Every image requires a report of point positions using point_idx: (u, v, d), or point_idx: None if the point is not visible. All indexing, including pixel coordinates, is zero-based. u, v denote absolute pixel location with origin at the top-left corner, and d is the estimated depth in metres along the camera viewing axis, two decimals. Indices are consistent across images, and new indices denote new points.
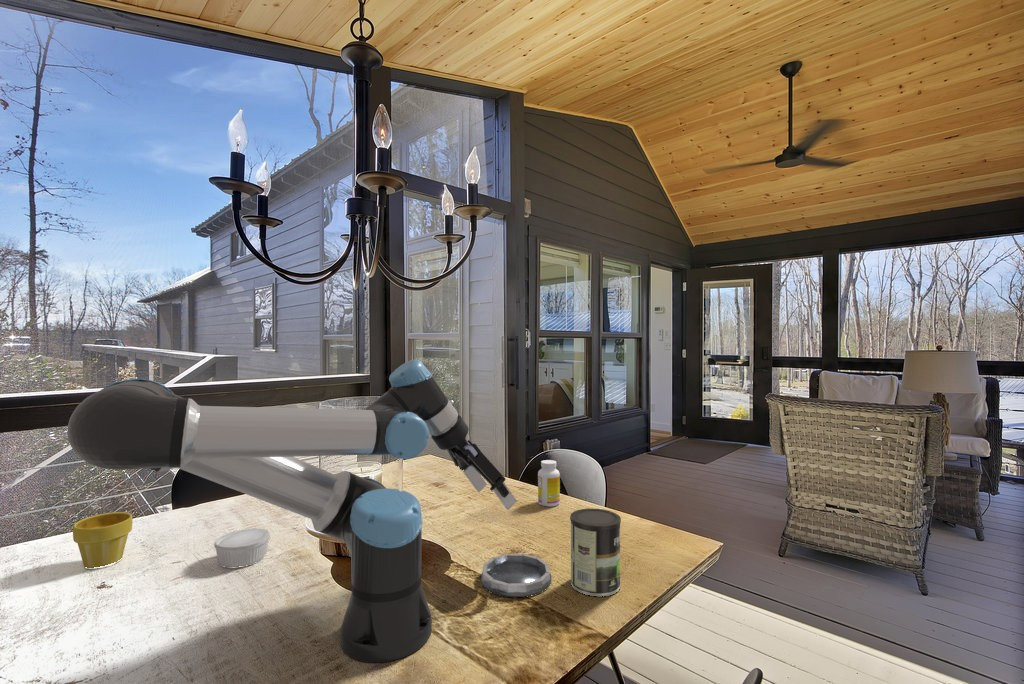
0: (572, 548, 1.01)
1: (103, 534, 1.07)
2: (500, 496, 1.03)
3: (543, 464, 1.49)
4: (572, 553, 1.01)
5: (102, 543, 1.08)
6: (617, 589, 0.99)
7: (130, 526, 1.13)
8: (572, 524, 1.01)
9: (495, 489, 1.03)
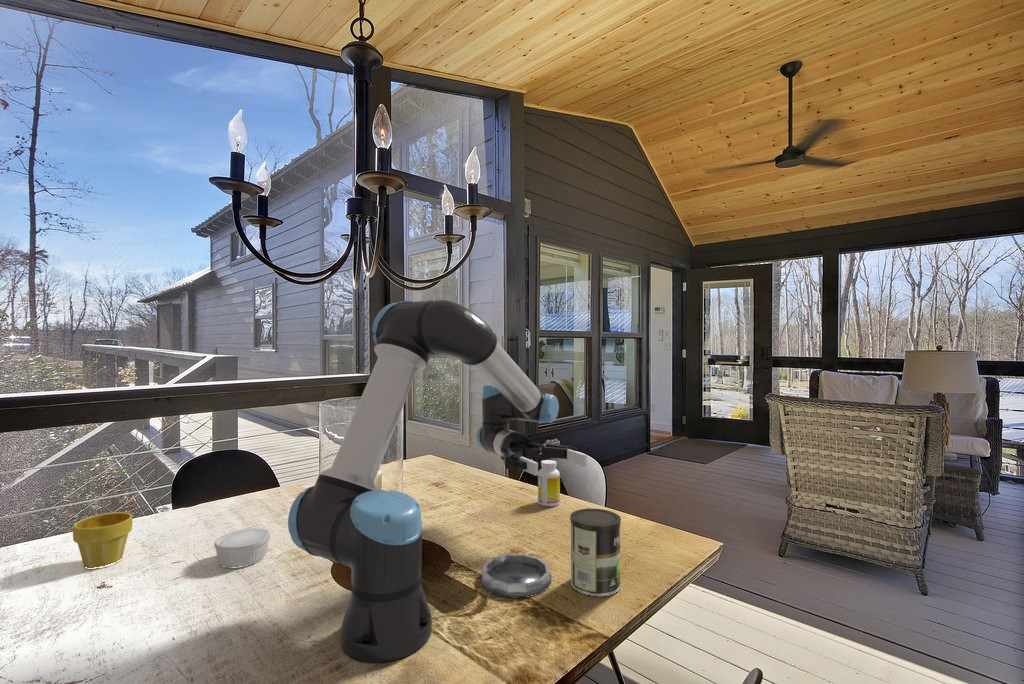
0: (572, 548, 1.01)
1: (103, 534, 1.07)
2: None
3: (543, 464, 1.49)
4: (572, 553, 1.01)
5: (102, 543, 1.08)
6: (617, 589, 0.99)
7: (130, 526, 1.13)
8: (572, 524, 1.01)
9: None
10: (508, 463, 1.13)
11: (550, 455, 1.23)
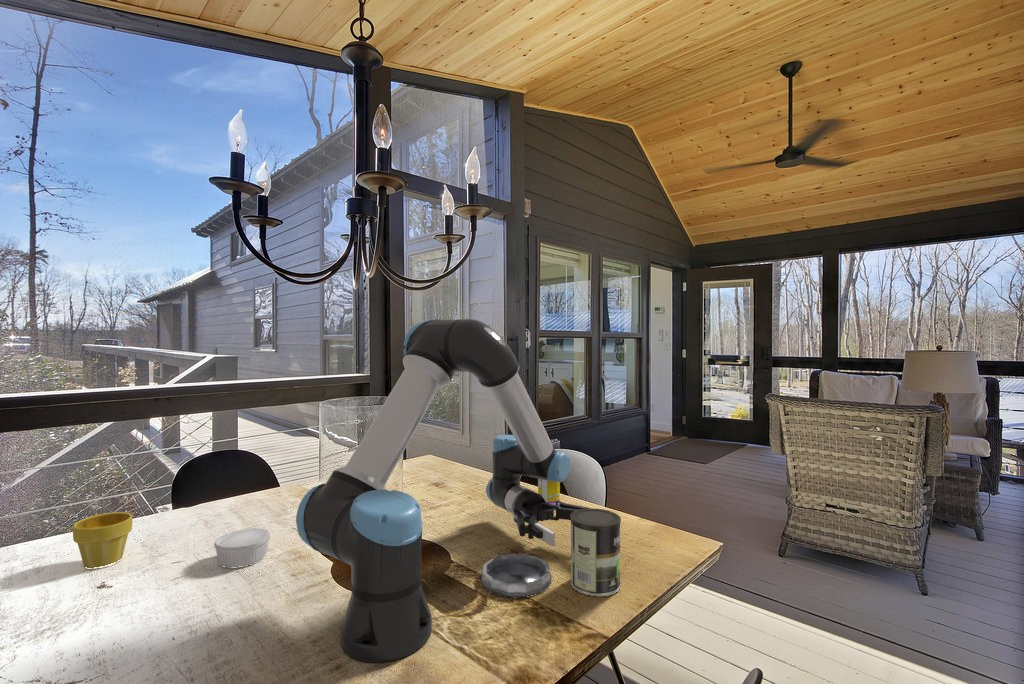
0: (572, 548, 1.01)
1: (103, 534, 1.07)
2: None
3: None
4: (572, 553, 1.01)
5: (102, 543, 1.08)
6: (617, 589, 0.99)
7: (130, 526, 1.13)
8: (572, 524, 1.01)
9: None
10: (523, 530, 1.09)
11: (565, 517, 1.19)
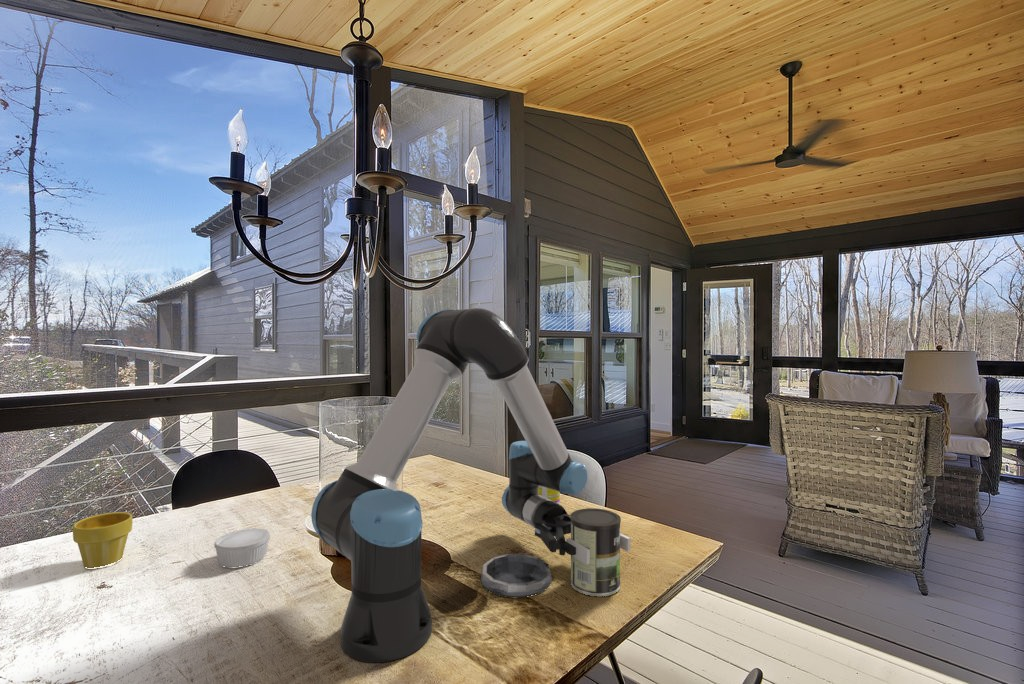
0: None
1: (103, 534, 1.07)
2: None
3: None
4: None
5: (102, 543, 1.08)
6: (617, 589, 0.99)
7: (130, 526, 1.13)
8: (572, 524, 1.01)
9: None
10: (554, 546, 1.00)
11: None
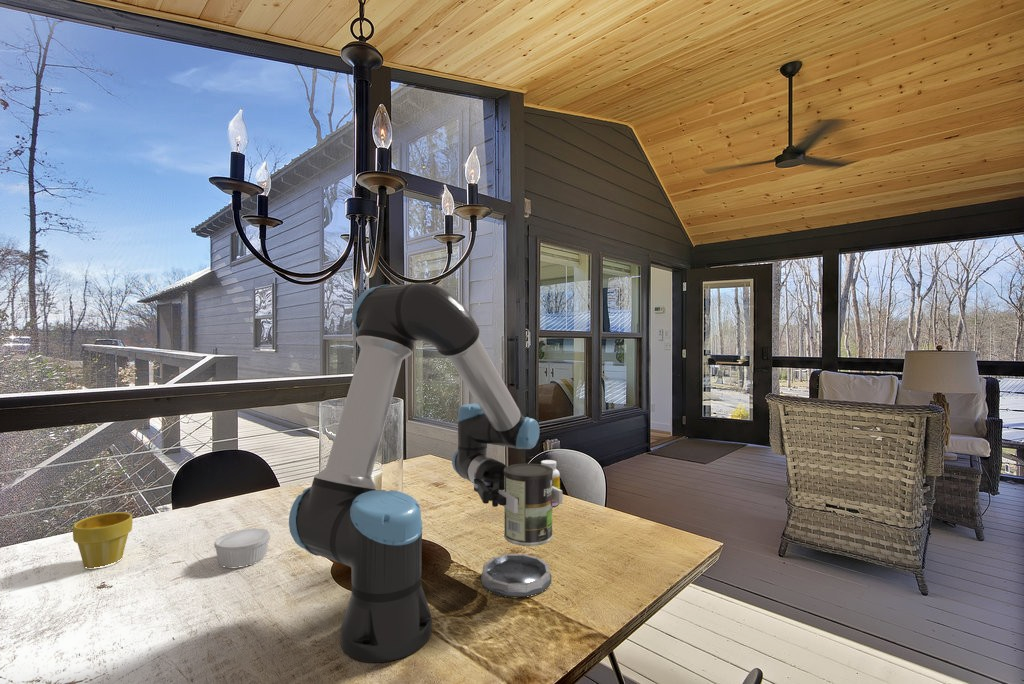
0: None
1: (103, 534, 1.07)
2: None
3: (543, 464, 1.49)
4: None
5: (102, 543, 1.08)
6: (547, 539, 1.00)
7: (130, 526, 1.13)
8: (504, 476, 1.02)
9: None
10: (486, 497, 1.02)
11: None
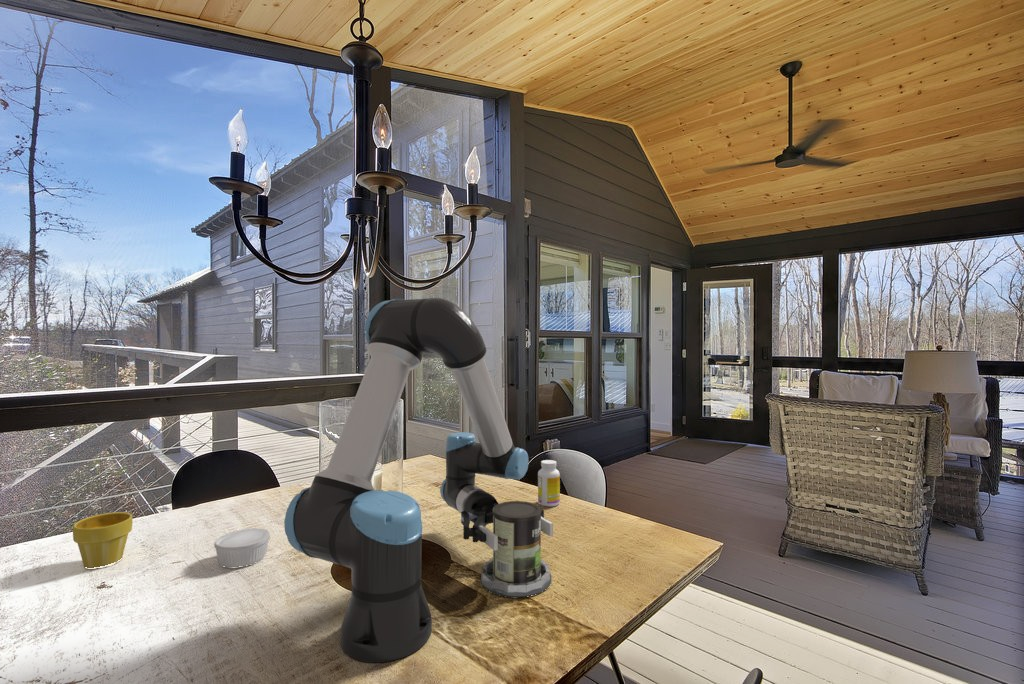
0: None
1: (103, 534, 1.07)
2: None
3: (543, 464, 1.49)
4: None
5: (102, 543, 1.08)
6: None
7: (130, 526, 1.13)
8: (493, 516, 1.03)
9: None
10: (466, 533, 1.02)
11: None
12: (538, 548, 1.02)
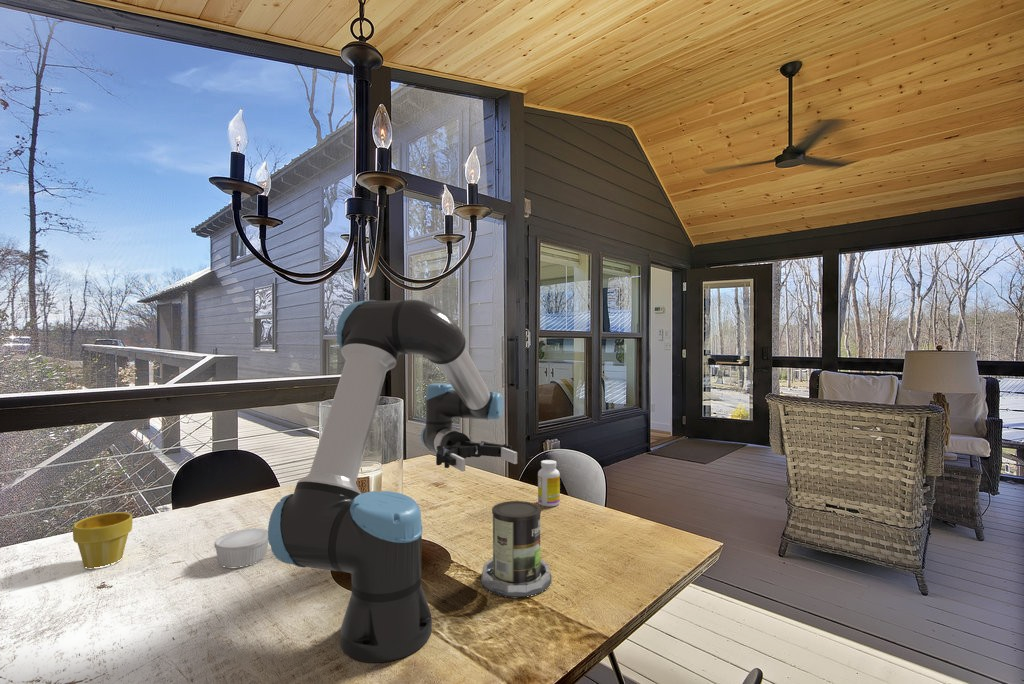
0: (493, 539, 1.03)
1: (103, 534, 1.07)
2: None
3: (543, 464, 1.49)
4: (493, 544, 1.03)
5: (102, 543, 1.08)
6: (535, 579, 1.01)
7: (130, 526, 1.13)
8: (493, 516, 1.03)
9: None
10: (439, 459, 1.15)
11: (485, 454, 1.25)
12: (538, 548, 1.02)
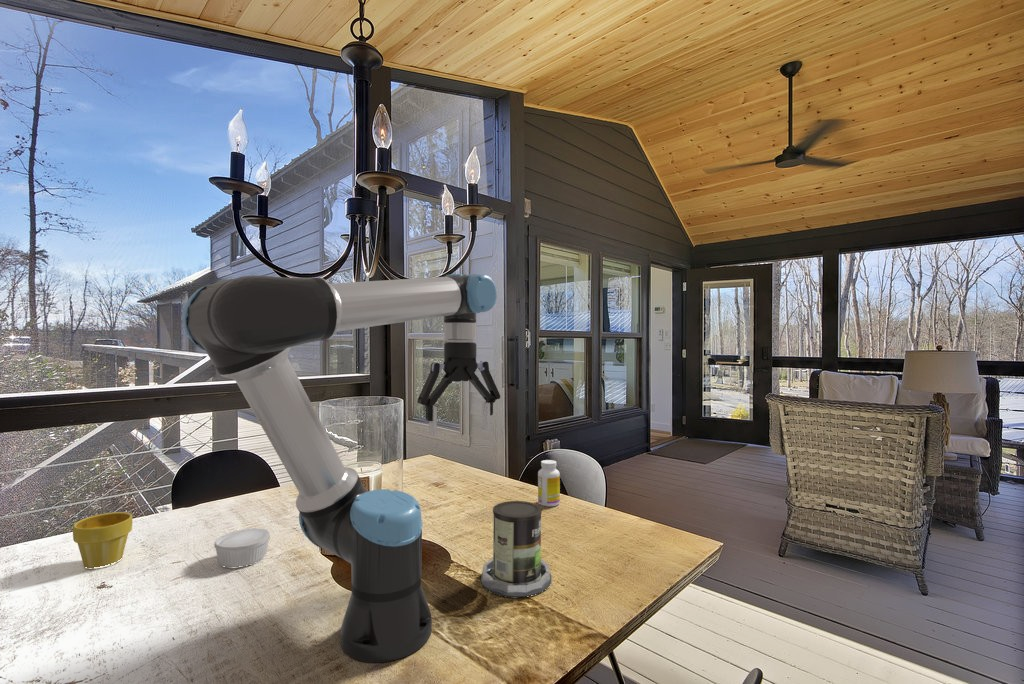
0: (493, 539, 1.03)
1: (103, 534, 1.07)
2: None
3: (543, 464, 1.49)
4: (493, 544, 1.03)
5: (102, 543, 1.08)
6: None
7: (130, 526, 1.13)
8: None
9: None
10: (420, 403, 1.11)
11: (475, 386, 1.18)
12: (538, 548, 1.02)
